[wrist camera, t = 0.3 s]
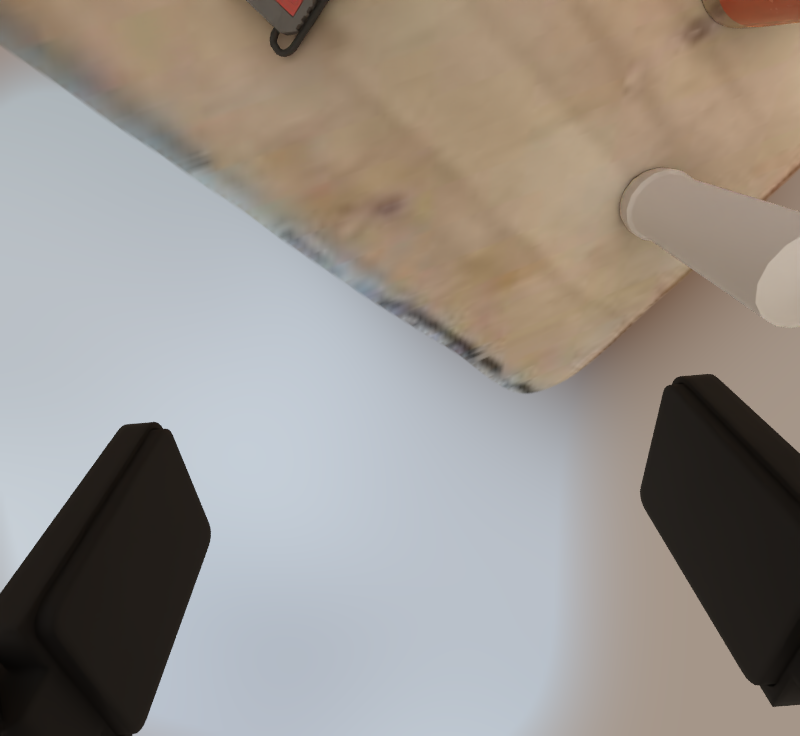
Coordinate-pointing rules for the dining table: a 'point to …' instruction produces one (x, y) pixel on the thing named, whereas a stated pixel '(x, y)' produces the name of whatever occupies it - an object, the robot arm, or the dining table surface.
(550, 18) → the dining table surface
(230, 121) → the dining table surface
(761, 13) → the tin can
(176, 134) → the dining table surface
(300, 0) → the walkie-talkie
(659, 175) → the bottle
